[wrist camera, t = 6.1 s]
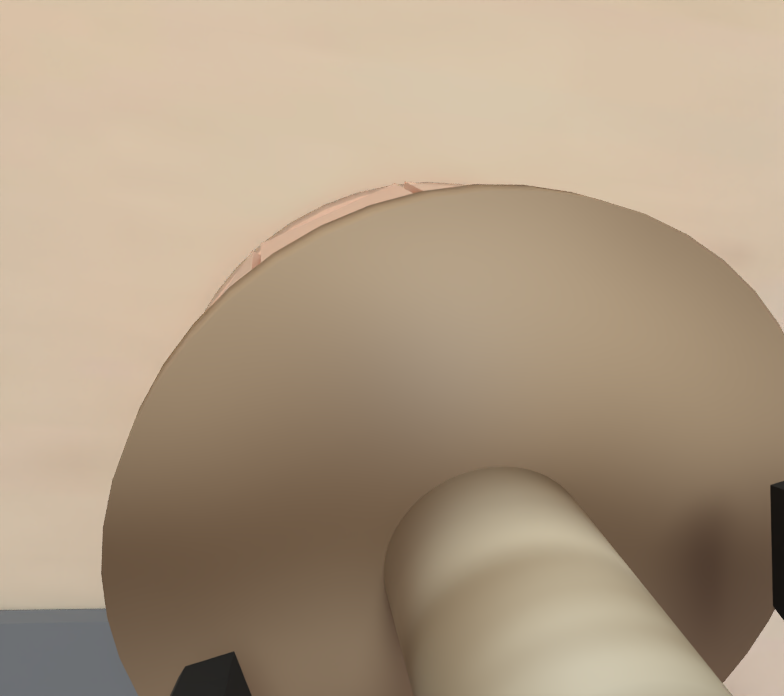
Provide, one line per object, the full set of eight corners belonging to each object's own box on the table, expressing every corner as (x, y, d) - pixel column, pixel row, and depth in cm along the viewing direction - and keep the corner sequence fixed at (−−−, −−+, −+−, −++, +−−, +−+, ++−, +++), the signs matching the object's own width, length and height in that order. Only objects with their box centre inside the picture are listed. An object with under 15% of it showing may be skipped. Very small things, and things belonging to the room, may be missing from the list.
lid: (734, 726, 14) (961, 1019, 9) (171, 838, 12) (119, 1263, 8) (832, 162, 10) (1277, 204, 6) (42, 210, 8) (-201, 323, 4)
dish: (588, 618, 17) (669, 742, 14) (166, 627, 15) (138, 777, 12) (693, 211, 14) (830, 244, 11) (182, 151, 12) (152, 167, 9)
